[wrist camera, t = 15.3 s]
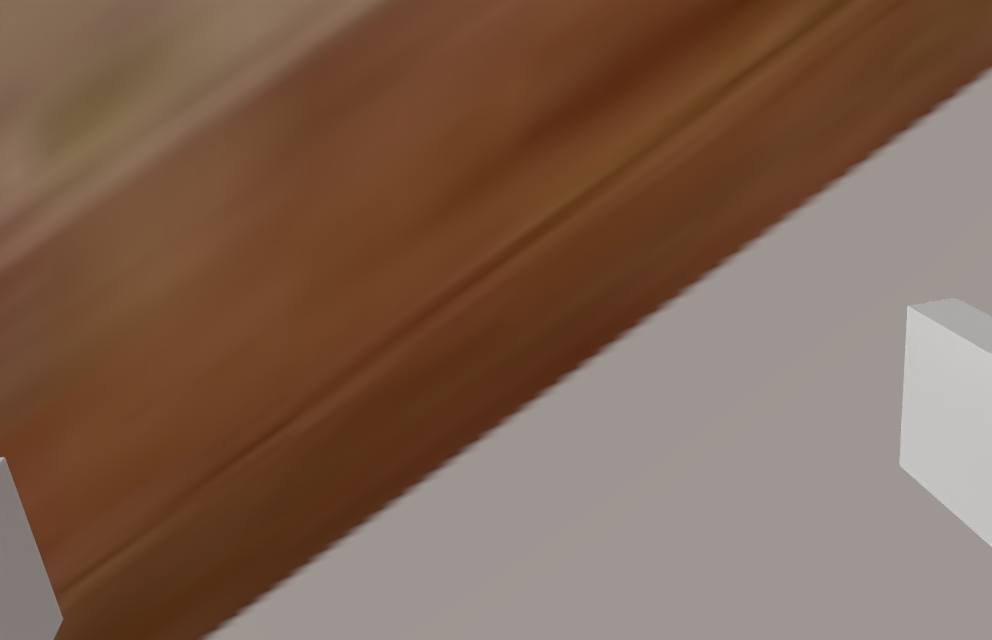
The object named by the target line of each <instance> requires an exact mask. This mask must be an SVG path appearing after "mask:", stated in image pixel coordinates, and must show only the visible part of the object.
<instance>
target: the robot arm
mask: <svg viewBox="0 0 992 640" xmlns="http://www.w3.org/2000/svg"><path fill="white" fill-rule="evenodd" d="M900 466H901V467H902V468H903V469H904V470H906V471H907V472H908V473H909V474H910V475H911V476H912V477H913V478H914V479H916V480H917V481H918V482H919V483H920V484H921V485H923V486H924V487H925V488H926V489H927V490H928V491H929V492H930V493H931V494H933V495H934V496H935V497H936V498H937V499H938V500H939V501H940V502H942V503H943V504H944V505H945V506H946V507H947V508H948V509H949V510H951V511H952V512H953V513H954V514H955V515H957V517H959V518H960V519H961V520H962V521H963V522H964V523H965V524H966V525H968V526H969V527H970V528H971V529H972V530H973V531H974V532H976V533H977V534H978V535H979V536H980V537H981V538H982V539H983V540H985V541H986V542H987V543H988V544H989V545H990V546H991V547H992V316H990V315H988V314H986V313H984V312H982V311H980V310H978V309H976V308H974V307H972V306H970V305H969V304H967V303H965V302H963V301H961V300H959V299H957V298H951V299H945V300H939V301H933V302H928V303H921V304H916V305H909V306H908V309H907V327H906V347H905V367H904V388H903V406H902V426H901V446H900ZM62 620H63V617H62V615H61V612H60V609H59V606H58V603H57V601H56V598H55V595H54V592H53V590H52V587H51V584H50V581H49V579H48V576H47V573H46V570H45V567H44V565H43V562H42V559H41V556H40V554H39V551H38V548H37V545H36V543H35V540H34V537H33V534H32V531H31V529H30V526H29V523H28V520H27V518H26V515H25V512H24V509H23V507H22V504H21V501H20V498H19V495H18V493H17V490H16V487H15V484H14V482H13V479H12V476H11V473H10V470H9V468H8V465H7V462H6V459H5V457H1V458H0V640H53V639H54V637H55V635H56V633H57V631H58V629H59V627H60V625H61V623H62Z"/></svg>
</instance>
